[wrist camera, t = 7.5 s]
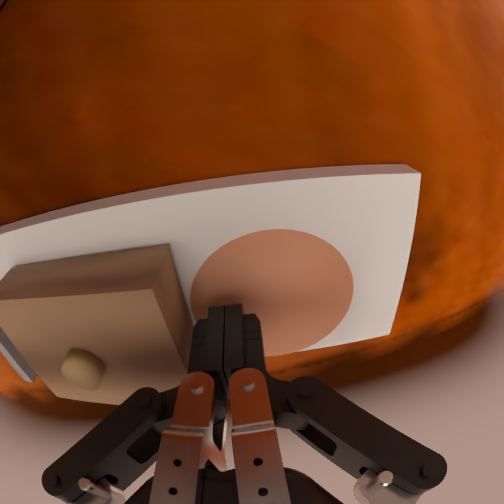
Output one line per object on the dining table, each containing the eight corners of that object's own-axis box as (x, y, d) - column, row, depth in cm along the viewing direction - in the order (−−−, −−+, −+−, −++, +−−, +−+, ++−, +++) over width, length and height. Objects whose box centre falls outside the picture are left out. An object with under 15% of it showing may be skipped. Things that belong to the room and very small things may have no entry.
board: (-18, 232, 12) (-53, 265, 9) (404, 164, 12) (453, 193, 9) (43, 343, 18) (25, 380, 14) (381, 318, 17) (403, 363, 14)
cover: (11, 267, 12) (-26, 313, 8) (168, 244, 12) (145, 309, 8) (70, 362, 16) (52, 408, 13) (207, 363, 16) (203, 423, 13)
